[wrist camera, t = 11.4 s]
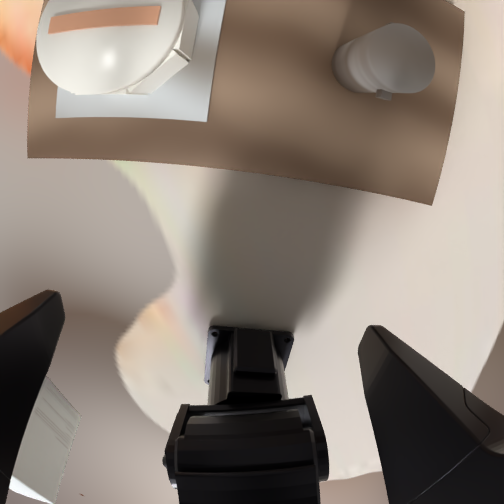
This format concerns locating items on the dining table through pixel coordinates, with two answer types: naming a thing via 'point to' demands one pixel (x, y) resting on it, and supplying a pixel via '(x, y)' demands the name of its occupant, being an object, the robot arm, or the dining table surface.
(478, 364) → the dining table surface
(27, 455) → the supplement box
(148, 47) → the cap
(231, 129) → the post board
